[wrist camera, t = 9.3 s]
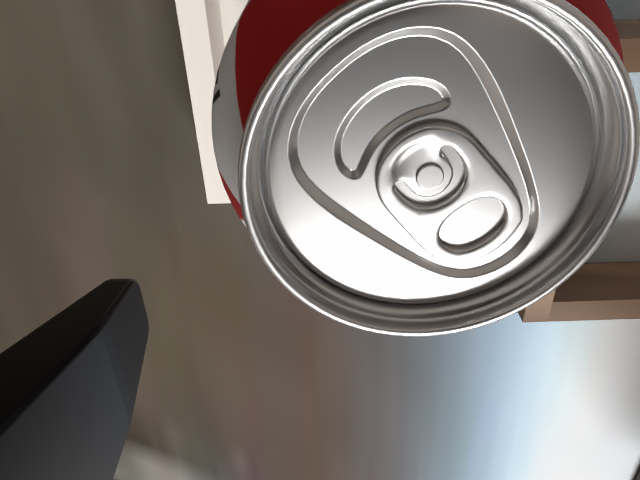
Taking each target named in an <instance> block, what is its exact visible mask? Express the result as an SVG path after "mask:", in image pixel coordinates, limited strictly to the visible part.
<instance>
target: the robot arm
mask: <svg viewBox="0 0 640 480" xmlns="http://www.w3.org/2000/svg"><path fill="white" fill-rule="evenodd" d="M148 331H149V325H148V318H147V314H146V310H145V306H144V302H143V298H142V294H141V290H140V287H139V284H138V283H137V281H136V280H134V279H109V280H107V281H105V282H103V283H102V284H101V285H99V286H98V287H96V288H95V289H93V290H92V291H90V292H89V293H88V294H86V295H85V296H83V297H82V298H80V299H79V300H77V301H76V302H75V303H73V304H72V305H70V306H69V307H67V308H66V309H64V310H63V311H61V312H60V313H59V314H57V315H56V316H54V317H53V318H51V319H50V320H48V321H47V322H46V323H44V324H43V325H41V326H40V327H38V328H37V329H35V330H34V331H33V332H31V333H30V334H28V335H27V336H25V337H24V338H22V339H21V340H20V341H18V342H17V343H15V344H14V345H12V346H11V347H9V348H8V349H7V350H5V351H4V352H2V353H1V354H0V480H113V477H114V474H115V471H116V468H117V464H118V461H119V458H120V455H121V452H122V449H123V446H124V443H125V440H126V437H127V433H128V430H129V426H130V423H131V418H132V414H133V409H134V404H135V399H136V394H137V389H138V384H139V379H140V374H141V369H142V364H143V359H144V354H145V349H146V344H147V339H148ZM636 480H640V471H639V474H638V476H637V478H636Z"/></svg>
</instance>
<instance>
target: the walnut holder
mask: <svg viewBox="0 0 640 480" xmlns="http://www.w3.org/2000/svg"><path fill="white" fill-rule="evenodd" d="M614 22H615V25H616V28H617V31H618V34H619V39H620V43H621V48H622V52H623V60H624V66H625V68H626V70H627V72H640V20H614ZM518 313H519V315H520V317H521V320H522V322H546V321H578V320H609V319H640V262H619V263H588V264H583V265H582V266H581V267H580V268H579V269H578V270H577V271H576V272H575V273H574V274H573V275H572V276H571V277H569V278H568V279H567V280H566V281H565V282H564V283H563V284H561V285H560V286H559V287H557V288H556V289H555V290H553V291H552V292H551V293H549V294H548V295H546V296H545V297H543V298H542V299H540V300H539V301H537V302H535V303H534V304H532V305H530V306H528V307H526V308H525V309H523V310H521V311H519V312H518Z"/></svg>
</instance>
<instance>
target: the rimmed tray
mask: <svg viewBox="0 0 640 480" xmlns="http://www.w3.org/2000/svg"><path fill="white" fill-rule="evenodd" d="M247 2H248V0H175V3H176V9H177V15H178V22H179V28H180V34H181V40H182V46H183V53H184V59H185V65H186V71H187V78H188V84H189V90H190V96H191V102H192V109H193V115H194V121H195V127H196V133H197V140H198V146H199V152H200V158H201V165H202V171H203V177H204V183H205V189H206V196H207V202H208V204H215V203H231V202H230V200H229V197H228V195H227V193H226V191H225V188H224V186H223V183H222V180H221V177H220V174H219V171H218V167H217V163H216V158H215V154H214V148H213V139H212V113H211V112H212V101H213V91H214V86H215V81H216V76H217V71H218V68H219V65H220V62H221V58H222V55H223V52H224V49H225V47H226V44H227V42H228V40H229V37H230V35H231V33H232V30H233V28H234V27H235V25H236V23H237V21H238V19H239V17H240V15H241V13H242V11H243V10H244V8H245V6H246V4H247Z"/></svg>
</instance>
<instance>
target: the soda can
mask: <svg viewBox="0 0 640 480" xmlns="http://www.w3.org/2000/svg"><path fill="white" fill-rule="evenodd" d="M211 113H212V139H213V148H214V154H215V158H216V163H217V167H218V171H219V174H220V177H221V180H222V183H223V186H224V188H225V191H226V193H227V195H228V197H229V200H230V202H231V204H232V205H233V207H234V209H235V210H236V212H237V214H238V216H239V217H240V219H241V220H242V222H243V223H244V224H245V226H246V228H247V231H248V233H249V236H250V238H251V240H252V242H253V245H254V247H255V249H256V250H257V252H258V254H259V256H260V257H261V259H262V261H263V262H264V264H265V265H266V266H267V268H268V269H269V270H270V272H271V273H272V274H273V275H274V277H275V278H276V279H277V280H278V281H279V282H280V283H281V284H282V285H283V286H284V287H285V288H286V289H287V290H288V291H289V292H290V293H291V294H292V295H294V296H295V297H296V298H298V299H299V300H300V301H302V302H303V303H304V304H306V305H307V306H309V307H310V308H312V309H314V310H315V311H317V312H318V313H320V314H322V315H324V316H326V317H328V318H330V319H332V320H335V321H337V322H340V323H342V324H345V325H347V326H351V327H354V328H357V329H360V330H365V331H369V332H374V333H379V334H386V335H393V336H435V335H444V334H450V333H457V332H461V331H466V330H470V329H474V328H478V327H481V326H484V325H487V324H490V323H493V322H496V321H498V320H501V319H504V318H506V317H508V316H510V315H512V314H515V313H517V312H519V311H521V310H523V309H525V308H526V307H528V306H530V305H532V304H534V303H535V302H537V301H539V300H540V299H542V298H543V297H545V296H546V295H548V294H549V293H551V292H552V291H553V290H555V289H556V288H557V287H559V286H560V285H561V284H563V283H564V282H565V281H566V280H567V279H568V278H569V277H571V276H572V275H573V274H574V273H575V272H576V271H577V270H578V269H579V268H580V267H581V266H582V265H583V264H584V263H585V262H586V261H587V260H588V259H589V258H590V257H591V255H592V254H593V253H594V252H595V251H596V249H597V248H598V247H599V246H600V245H601V243H602V242H603V240H604V239H605V237H606V236H607V234H608V233H609V232H610V230H611V228H612V227H613V225H614V223H615V221H616V220H617V218H618V216H619V214H620V212H621V210H622V208H623V206H624V204H625V201H626V199H627V197H628V194H629V191H630V188H631V185H632V182H633V179H634V175H635V170H636V166H637V161H638V153H639V145H640V123H639V113H638V106H637V101H636V97H635V92H634V89H633V86H632V83H631V80H630V78H629V75H628V72H627V70H626V68H625V66H624V60H623V52H622V48H621V43H620V39H619V34H618V31H617V28H616V25H615V22H614V19H613V17H612V14H611V11H610V9H609V7H608V5H607V3H606V1H605V0H248V2H247V4H246V6H245V8H244V10H243V11H242V13H241V15H240V17H239V19H238V21H237V23H236V25H235V27H234V28H233V30H232V33H231V35H230V37H229V40H228V42H227V44H226V47H225V49H224V52H223V55H222V58H221V62H220V65H219V68H218V71H217V76H216V81H215V86H214V91H213V101H212V112H211Z"/></svg>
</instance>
